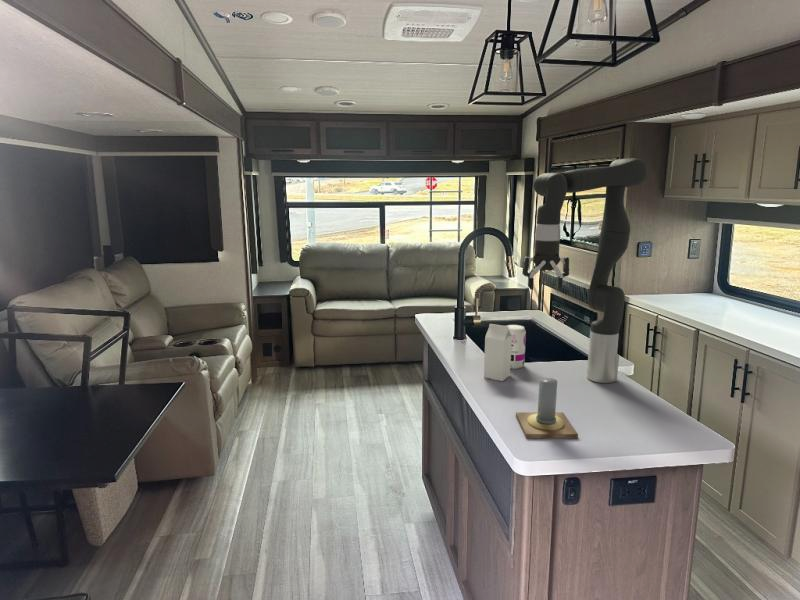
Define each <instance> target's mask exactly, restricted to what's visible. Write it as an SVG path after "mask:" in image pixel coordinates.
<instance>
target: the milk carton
mask: <svg viewBox="0 0 800 600" xmlns="http://www.w3.org/2000/svg"><path fill="white" fill-rule="evenodd" d="M488 325H489V326H488V329H487V331H486V334H485V337H484V358H483V359H484V365H483V366H484V367H483V378H484V379H489V378H490V379H489V380H493V381H494V380H495V381H498V382H499V381H500V382H504V381H505V380H506V379H507V378H508V377H510V375H511V368H510V366H511V342H512V335H511V333H510V331H509V326H507V325H501V324H495V323H494V324H493V323H489V324H488Z"/></svg>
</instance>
